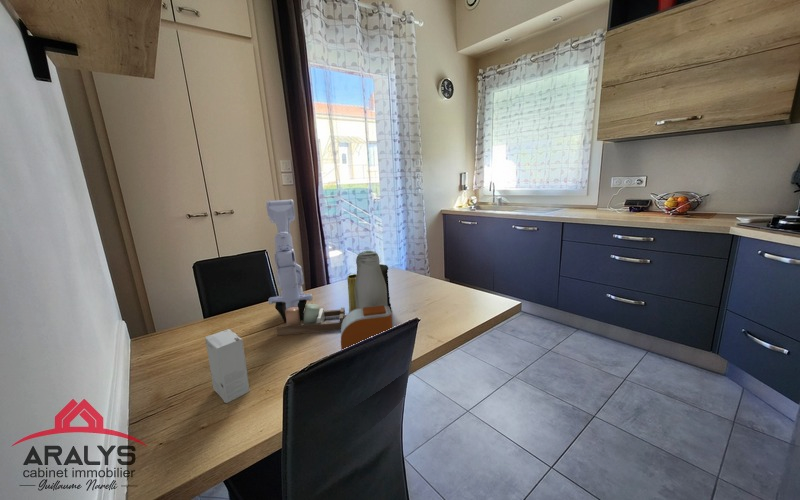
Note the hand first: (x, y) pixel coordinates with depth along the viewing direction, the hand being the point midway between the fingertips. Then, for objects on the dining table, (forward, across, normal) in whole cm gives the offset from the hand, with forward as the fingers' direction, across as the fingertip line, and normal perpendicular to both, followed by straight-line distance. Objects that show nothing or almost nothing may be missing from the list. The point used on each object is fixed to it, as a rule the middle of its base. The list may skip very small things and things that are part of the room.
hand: (293, 320), depth 108 cm
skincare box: (+2, -8, -33) cm, 34 cm away
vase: (+2, +22, +9) cm, 24 cm away
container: (+2, +31, +6) cm, 32 cm away
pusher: (+2, +16, 0) cm, 16 cm away
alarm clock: (+2, +26, -22) cm, 34 cm away
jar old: (+2, +5, 0) cm, 6 cm away
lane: (+2, +6, 0) cm, 6 cm away
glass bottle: (+2, +28, -10) cm, 30 cm away
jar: (+2, 0, 0) cm, 2 cm away
